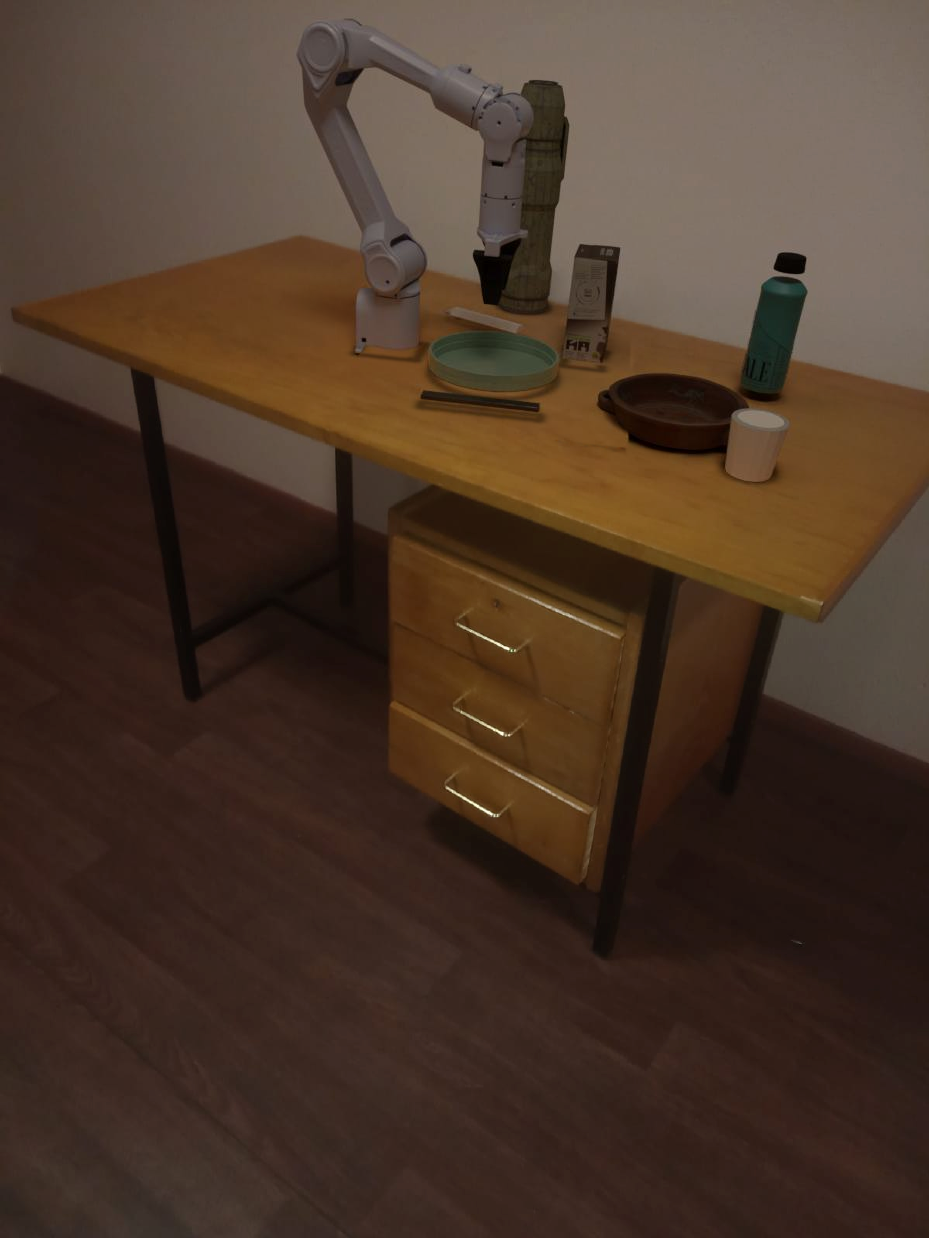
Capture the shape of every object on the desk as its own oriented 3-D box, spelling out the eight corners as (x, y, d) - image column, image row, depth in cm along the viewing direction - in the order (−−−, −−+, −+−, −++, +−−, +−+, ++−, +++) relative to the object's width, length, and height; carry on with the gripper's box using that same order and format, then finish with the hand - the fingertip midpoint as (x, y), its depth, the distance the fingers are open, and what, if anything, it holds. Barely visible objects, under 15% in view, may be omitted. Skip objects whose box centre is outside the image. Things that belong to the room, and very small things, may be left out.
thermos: (563, 307, 170) (589, 84, 150) (519, 319, 163) (540, 86, 143) (527, 295, 175) (547, 77, 155) (482, 306, 168) (497, 79, 148)
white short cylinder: (712, 459, 120) (724, 406, 116) (765, 460, 121) (778, 407, 117) (729, 483, 115) (742, 429, 111) (784, 484, 115) (799, 430, 111)
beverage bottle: (782, 391, 141) (818, 251, 130) (779, 407, 136) (817, 263, 125) (738, 384, 143) (770, 245, 132) (733, 399, 138) (766, 256, 126)
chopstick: (537, 420, 127) (539, 408, 126) (420, 407, 129) (420, 394, 128) (538, 415, 129) (540, 403, 128) (422, 402, 130) (423, 390, 129)
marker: (441, 320, 163) (519, 341, 155) (435, 316, 161) (514, 337, 153) (446, 305, 162) (525, 325, 155) (440, 301, 160) (519, 321, 153)
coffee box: (602, 371, 144) (618, 261, 135) (560, 365, 145) (572, 256, 136) (607, 351, 152) (622, 246, 143) (567, 346, 153) (579, 241, 143)
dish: (622, 392, 138) (628, 358, 135) (772, 431, 129) (781, 396, 126) (569, 431, 125) (573, 395, 122) (731, 477, 116) (740, 439, 113)
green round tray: (417, 391, 133) (417, 367, 131) (440, 347, 149) (441, 325, 147) (551, 406, 132) (554, 382, 130) (560, 360, 147) (563, 338, 145)
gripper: (525, 208, 123) (516, 314, 131) (535, 188, 135) (527, 285, 143) (471, 204, 124) (466, 309, 132) (486, 183, 136) (480, 281, 144)
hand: (494, 296), depth 137 cm, fingers open, 7 cm apart
